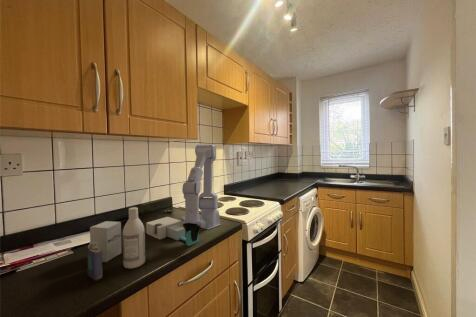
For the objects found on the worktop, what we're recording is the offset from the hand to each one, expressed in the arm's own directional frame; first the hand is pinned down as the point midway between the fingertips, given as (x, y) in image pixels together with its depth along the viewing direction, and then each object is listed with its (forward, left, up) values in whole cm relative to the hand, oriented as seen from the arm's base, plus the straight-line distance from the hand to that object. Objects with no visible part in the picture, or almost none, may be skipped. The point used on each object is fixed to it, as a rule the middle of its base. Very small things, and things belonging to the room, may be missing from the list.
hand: (192, 239), depth 88 cm
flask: (+34, -8, -2) cm, 35 cm away
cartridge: (0, -9, -2) cm, 9 cm away
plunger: (+4, -20, 0) cm, 20 cm away
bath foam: (+23, -4, -2) cm, 23 cm away
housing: (0, -22, -2) cm, 22 cm away
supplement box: (+27, -18, -2) cm, 33 cm away
